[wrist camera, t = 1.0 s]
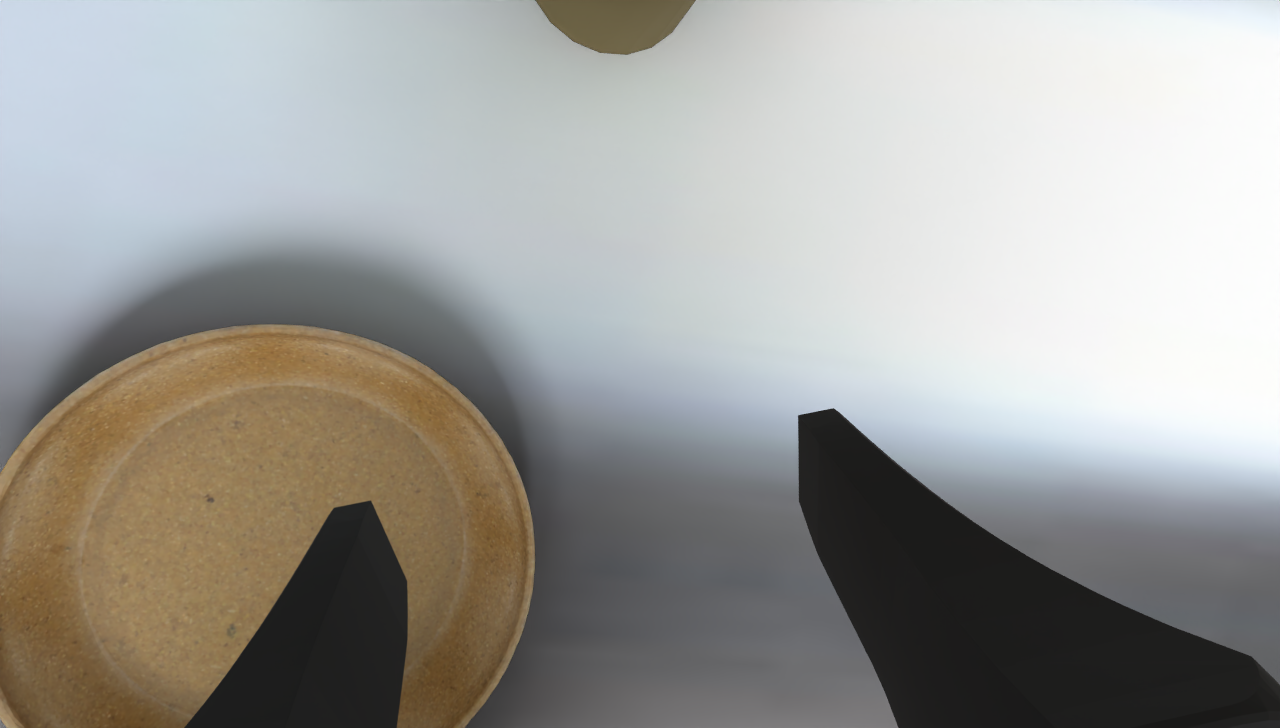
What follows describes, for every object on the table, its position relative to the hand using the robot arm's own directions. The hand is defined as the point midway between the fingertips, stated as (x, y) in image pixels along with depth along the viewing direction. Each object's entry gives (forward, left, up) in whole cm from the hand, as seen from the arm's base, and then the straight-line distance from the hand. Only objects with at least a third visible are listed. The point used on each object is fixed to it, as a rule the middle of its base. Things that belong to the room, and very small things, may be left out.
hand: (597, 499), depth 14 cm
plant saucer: (-3, +7, -14) cm, 16 cm away
